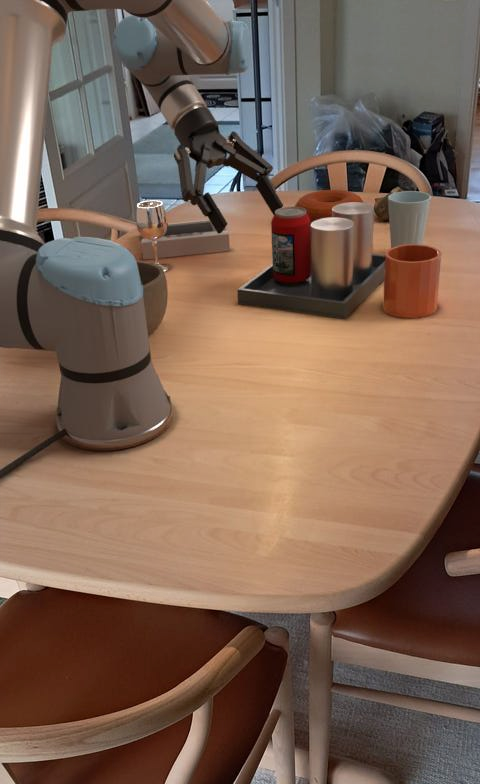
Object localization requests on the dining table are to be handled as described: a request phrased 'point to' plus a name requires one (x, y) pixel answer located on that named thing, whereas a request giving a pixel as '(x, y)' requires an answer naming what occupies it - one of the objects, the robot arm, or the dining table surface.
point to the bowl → (153, 293)
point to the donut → (325, 202)
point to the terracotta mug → (411, 280)
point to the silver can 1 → (332, 258)
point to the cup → (408, 217)
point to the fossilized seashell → (384, 205)
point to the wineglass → (152, 223)
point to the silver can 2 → (359, 236)
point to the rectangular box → (187, 240)
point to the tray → (306, 293)
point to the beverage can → (291, 245)
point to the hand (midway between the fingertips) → (251, 219)
